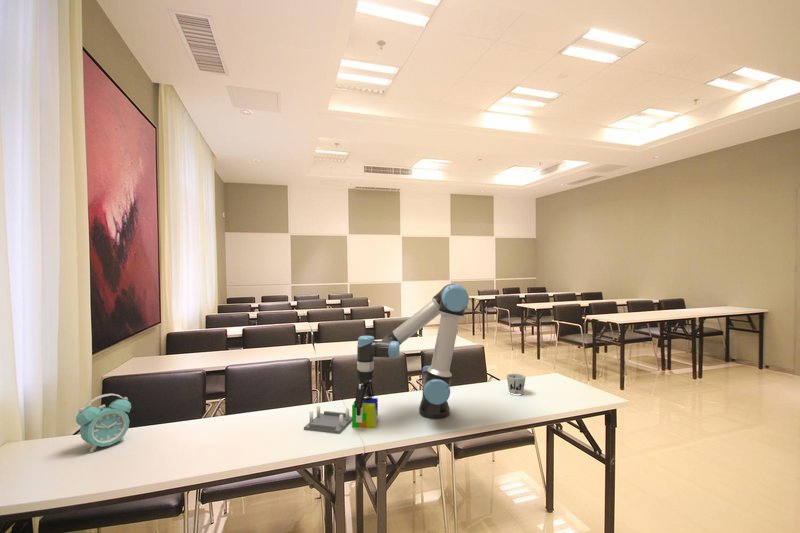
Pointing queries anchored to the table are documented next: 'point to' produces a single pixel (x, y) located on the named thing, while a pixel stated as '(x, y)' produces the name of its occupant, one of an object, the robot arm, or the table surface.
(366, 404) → the puzzle toy
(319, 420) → the tray
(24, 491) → the table surface
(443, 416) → the robot arm
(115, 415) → the alarm clock
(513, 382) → the mug
